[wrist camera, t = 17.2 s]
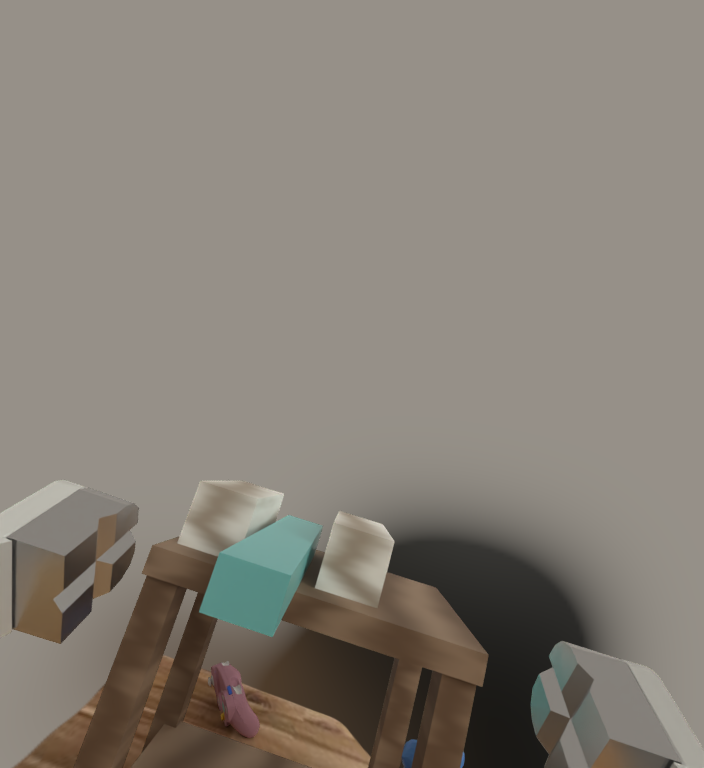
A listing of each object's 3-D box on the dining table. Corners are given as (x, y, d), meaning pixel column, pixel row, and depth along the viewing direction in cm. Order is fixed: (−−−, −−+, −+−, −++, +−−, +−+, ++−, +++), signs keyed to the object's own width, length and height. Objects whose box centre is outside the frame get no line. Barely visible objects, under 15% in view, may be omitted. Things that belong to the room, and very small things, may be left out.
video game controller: (208, 706, 58) (203, 658, 58) (240, 690, 61) (235, 644, 61) (226, 756, 50) (220, 701, 50) (262, 736, 52) (256, 683, 52)
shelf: (372, 865, 40) (446, 542, 47) (388, 1168, 22) (503, 579, 29) (136, 778, 41) (241, 478, 48) (-21, 995, 24) (178, 477, 31)
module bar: (314, 553, 44) (323, 525, 45) (272, 637, 21) (291, 575, 21) (279, 542, 44) (288, 514, 45) (198, 612, 21) (219, 552, 22)
